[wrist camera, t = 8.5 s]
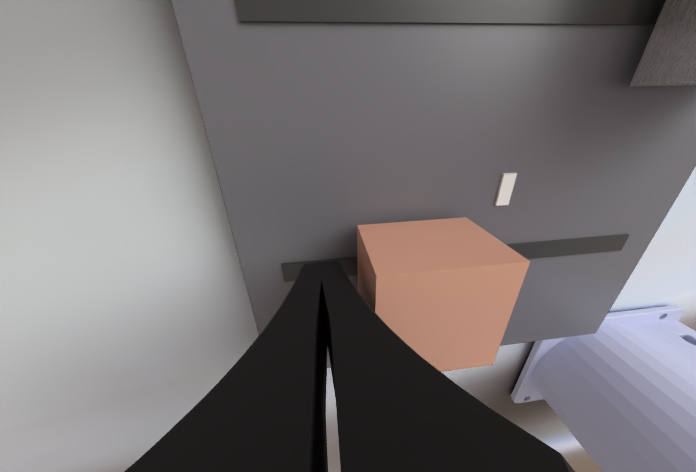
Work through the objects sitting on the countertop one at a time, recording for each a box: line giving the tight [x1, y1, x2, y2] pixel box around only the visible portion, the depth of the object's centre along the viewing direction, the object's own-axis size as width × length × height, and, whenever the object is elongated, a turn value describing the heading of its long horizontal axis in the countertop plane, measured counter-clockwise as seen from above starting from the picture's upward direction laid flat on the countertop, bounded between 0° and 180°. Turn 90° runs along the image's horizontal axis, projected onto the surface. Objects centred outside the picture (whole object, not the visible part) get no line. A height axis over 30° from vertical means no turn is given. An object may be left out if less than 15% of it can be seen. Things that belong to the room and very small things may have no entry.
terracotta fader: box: [357, 217, 530, 372], centre depth 8 cm, size 4×4×3 cm
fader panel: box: [171, 0, 696, 368], centre depth 9 cm, size 18×20×2 cm
